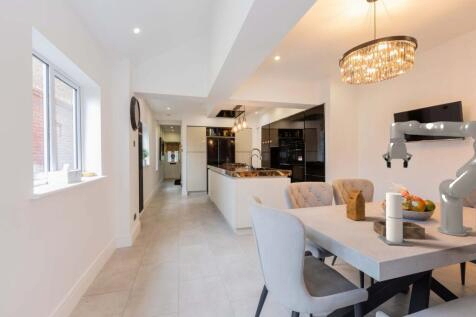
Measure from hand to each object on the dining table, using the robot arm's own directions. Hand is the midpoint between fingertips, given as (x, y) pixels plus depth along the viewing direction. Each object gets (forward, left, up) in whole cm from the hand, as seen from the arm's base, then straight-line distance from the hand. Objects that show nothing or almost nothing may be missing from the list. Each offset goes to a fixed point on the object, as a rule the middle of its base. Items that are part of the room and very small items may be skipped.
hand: (397, 167), depth 140 cm
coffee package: (+20, -16, -38) cm, 46 cm away
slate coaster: (+16, +27, -38) cm, 50 cm away
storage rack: (+8, +15, -38) cm, 42 cm away
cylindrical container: (+16, +27, -38) cm, 49 cm away
